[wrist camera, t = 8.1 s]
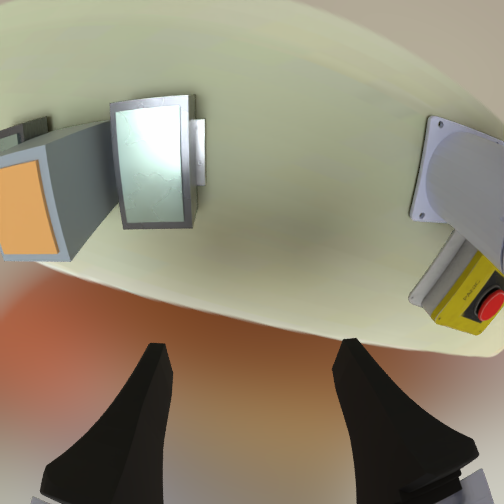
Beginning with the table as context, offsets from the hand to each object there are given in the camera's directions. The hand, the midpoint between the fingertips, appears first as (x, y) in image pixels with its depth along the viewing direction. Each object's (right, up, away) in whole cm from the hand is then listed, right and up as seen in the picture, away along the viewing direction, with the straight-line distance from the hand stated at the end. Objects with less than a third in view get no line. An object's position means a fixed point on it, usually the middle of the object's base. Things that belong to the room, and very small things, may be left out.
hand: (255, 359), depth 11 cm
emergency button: (+23, +2, +13) cm, 26 cm away
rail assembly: (-10, +10, +5) cm, 15 cm away
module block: (-10, +10, +4) cm, 15 cm away
